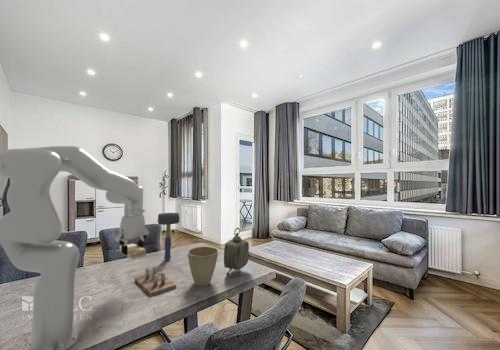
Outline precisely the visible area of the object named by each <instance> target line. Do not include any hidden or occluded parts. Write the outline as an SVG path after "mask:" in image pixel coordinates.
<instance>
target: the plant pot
mask: <svg viewBox="0 0 500 350" xmlns="http://www.w3.org/2000/svg"><path fill="white" fill-rule="evenodd" d="M218 254H219V249H218V248H216V247H212V246H198V247H193V248H190V249H189V250H188V251H187V257H188V265H189V269H190V273H191V277H192V279H193V280H192V281H193V283H194V285H196V286H198V287H205V286H208V285H209V284H210V283H211V281H212V278H213V275H214V272H215V268H216V265H217V259H218Z"/></svg>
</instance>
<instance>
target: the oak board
mask: <svg viewBox="0 0 500 350" xmlns="http://www.w3.org/2000/svg"><path fill="white" fill-rule="evenodd" d="M126 246H128V250H127V255H124V254H122V252H121V249H122V245H119V250H118V251H119V253H120V254H121V255H123V256H125V257H126V258H128V259H130V260H136V259H141V258H145V257H146V256H147V249H146V248H144V247H143V248H142V247H140V246H138V245H137V244H135V243H133V242H132V243H127V245H126Z"/></svg>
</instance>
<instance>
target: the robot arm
mask: <svg viewBox="0 0 500 350" xmlns="http://www.w3.org/2000/svg"><path fill="white" fill-rule="evenodd" d="M60 172H64V173H65V172H66V173H69V174H71V175H72V176H74V177H75V178H76V179H78V180H79V181H81V182H83V183H84V184H86V185H87V186H89V187H90V188H93V189H96V190H100V191H104V192H105V191H106V192H105V198H106V200H107V201H108V202H109V203H112V204H116V205H118V204H119V205H124V213H123V215H124V216H121V221H120V224H119V233H118V234H117V235H116V236H115V237H114V240H115V241H116V242H117V243H118V244H119V246H121V245H122V249H121V252H122V254H121V255H123V254H124V255H123V256H125V255H127V250H128V246H126V245H127V244H128V242H129V240H131V239H136V238H137V240H138V241H137V244H136V245H138V246H140V247H142V248H144V242H145V240H146V238H147V236H149V234H150V231H149V230H148V229H147V228H146V221H145V216H144V214H143V213H145V211H146V209H144V187H143V186H140V185H138V184H137V183H136V182H134V181H133V180H132V179H130V178H129V177H126V176H124V175H122V174H119V173H118V172H115V171H113V170H110V169H108V168H107V167H106V166H104V165H103V164H102V163H101V162H99V160H98V159H96V158H95V157H94V156H92V155H91V154H90V153H89V152H87V151H86V150H85V149H83V148H82V147H80V146H74V145H68V146H66V145H62V146H61V145H60V146H59V145H56V146H45V147H44V146H43V147H27V148H10V149H6V150H3V151H0V175H1V176H3V177H4V178H5V177H6V178H9V179H12V181H11V183H10V185H9V187H8V189H7V193H6V201H7V205H8V208H9V212H8V213H6V214H4V215H3V216H1V218H0V246H1V247H2V248H3V250H4V252H5V254H6V256H7V258H8V259H9V261H10V263H12V266H14V267H15V268H16V269H18V270H20V271H24V272H32V273H37V274H40V277H39V279H38V281H37V282H36V284H35V287H34V289H33V294H32V295H33V297H32V319H31V321H32V322H31V342H30V343H29V344H27V345H26V346H25V347H24V350H67V349H68V350H70V349H71V348H72V347H73V346H74V345H75V344H76V343H77V342H78V339H79V332H78V330H76V329H73V327H74V303H75V302H74V301H75V282H76V281H75V280H76V279H75V278H76V273H77V272H76V271H77V268H78V264H79V260H80V254H81V253H80V249H79V247H78V246H77V245H76V244H74V243H73V242H70V241H66V240H65V241H64V240H58V239H59V238H60V237H61V235H62V233H63V225H62V222H61V219H60V216H59V214H58V212H57V210H56V207H55V205H54V203H53V200H52V197H51V193H50V190H51V186H52V184H53V183H54V181H55V179H56V177H57V176H58V174H59V173H60ZM70 347H71V348H70Z"/></svg>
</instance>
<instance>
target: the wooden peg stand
mask: <svg viewBox="0 0 500 350" xmlns="http://www.w3.org/2000/svg"><path fill="white" fill-rule="evenodd" d="M150 270H151V269H150V268H148V267H147V268H145V275H141V276H138V277H135V278H134V282H135V283H136V284H137V285H138V286H139V287H140V288H141V289H142V290H143V291H144V292H145V293H146V294H147V295H148V296H149V297H152V296H155V295H158V294H161V293H164V292H167V291H171V290H174V289H177V284H176V283H175V282H173V281H172V280H170V279H169V278H168V277H166V272H160V271H158V267H157V266H153V267H152V273H150Z"/></svg>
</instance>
